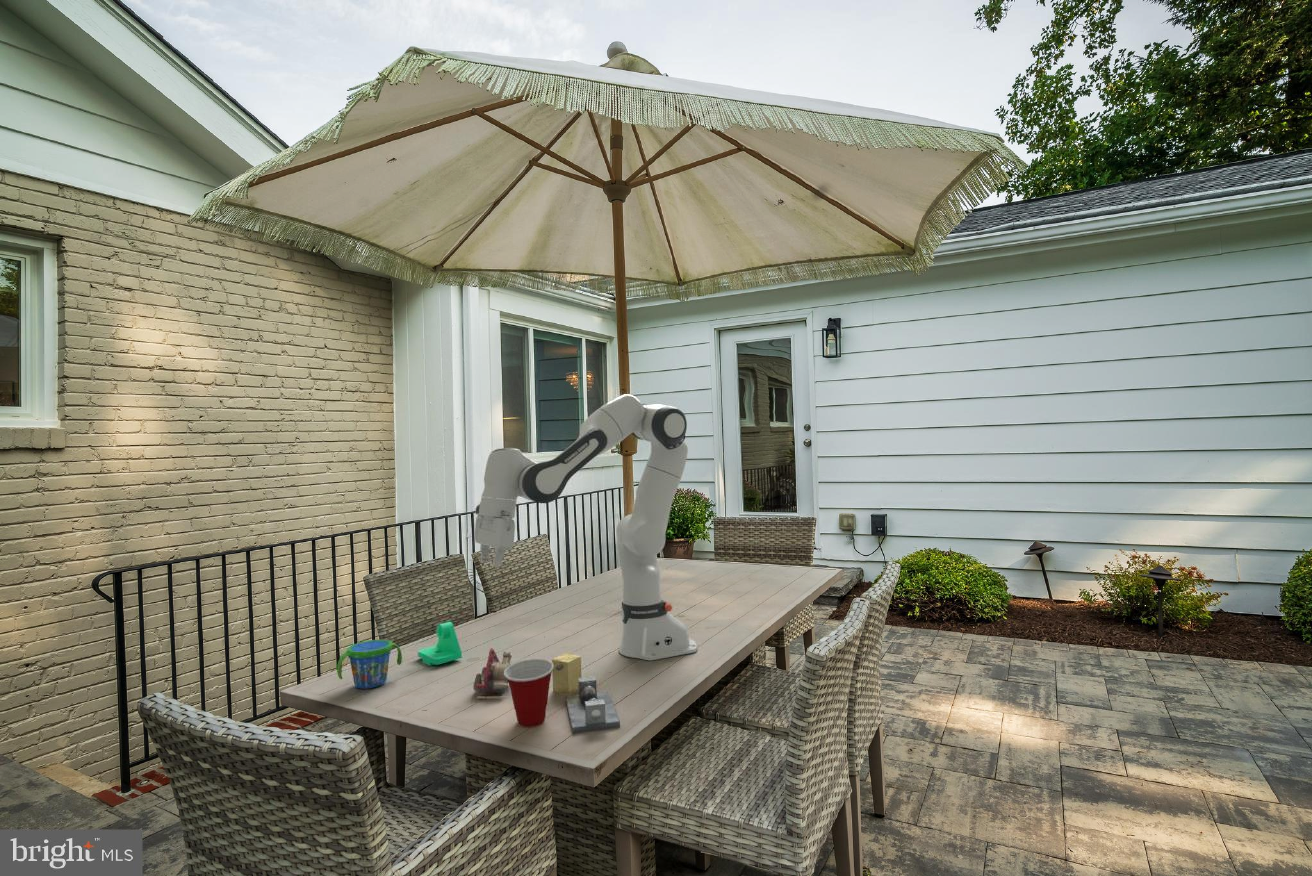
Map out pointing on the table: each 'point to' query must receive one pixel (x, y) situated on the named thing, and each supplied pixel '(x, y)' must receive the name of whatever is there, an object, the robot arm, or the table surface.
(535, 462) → the robot arm
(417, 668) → the table surface
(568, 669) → the block
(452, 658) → the camera mount
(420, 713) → the table surface
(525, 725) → the plastic cup
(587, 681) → the shaft stand
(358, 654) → the snack cup
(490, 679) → the brake caliper
